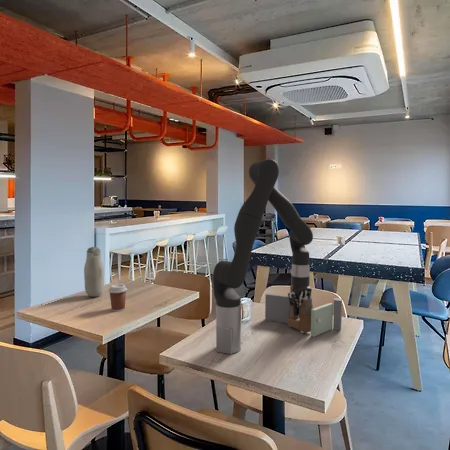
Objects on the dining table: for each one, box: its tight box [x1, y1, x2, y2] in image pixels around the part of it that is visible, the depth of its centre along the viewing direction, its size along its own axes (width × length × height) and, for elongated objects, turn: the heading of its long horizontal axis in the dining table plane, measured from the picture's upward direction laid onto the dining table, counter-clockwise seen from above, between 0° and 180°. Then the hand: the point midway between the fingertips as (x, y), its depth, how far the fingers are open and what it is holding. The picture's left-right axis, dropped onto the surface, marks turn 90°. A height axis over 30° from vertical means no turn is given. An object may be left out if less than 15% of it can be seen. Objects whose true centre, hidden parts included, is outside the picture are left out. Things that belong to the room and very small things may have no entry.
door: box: [310, 302, 334, 338], centre depth 161 cm, size 3×14×11 cm, turn 132°
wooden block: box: [287, 285, 313, 334], centre depth 163 cm, size 4×11×18 cm, turn 33°
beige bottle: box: [83, 246, 105, 298], centre depth 215 cm, size 10×10×28 cm
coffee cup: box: [107, 283, 128, 312], centre depth 193 cm, size 9×9×12 cm
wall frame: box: [264, 293, 343, 331], centre depth 171 cm, size 3×33×13 cm, turn 67°
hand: (299, 314), depth 164 cm, fingers closed on wooden block, 4 cm apart
